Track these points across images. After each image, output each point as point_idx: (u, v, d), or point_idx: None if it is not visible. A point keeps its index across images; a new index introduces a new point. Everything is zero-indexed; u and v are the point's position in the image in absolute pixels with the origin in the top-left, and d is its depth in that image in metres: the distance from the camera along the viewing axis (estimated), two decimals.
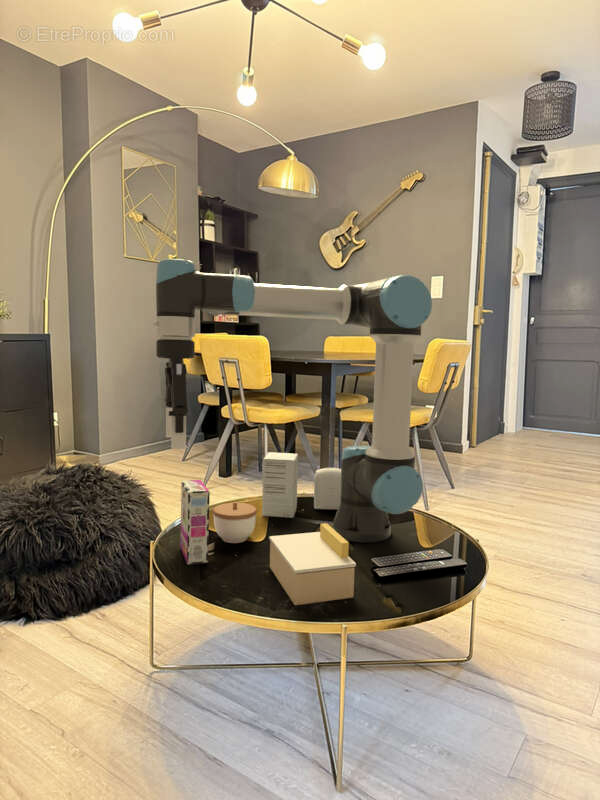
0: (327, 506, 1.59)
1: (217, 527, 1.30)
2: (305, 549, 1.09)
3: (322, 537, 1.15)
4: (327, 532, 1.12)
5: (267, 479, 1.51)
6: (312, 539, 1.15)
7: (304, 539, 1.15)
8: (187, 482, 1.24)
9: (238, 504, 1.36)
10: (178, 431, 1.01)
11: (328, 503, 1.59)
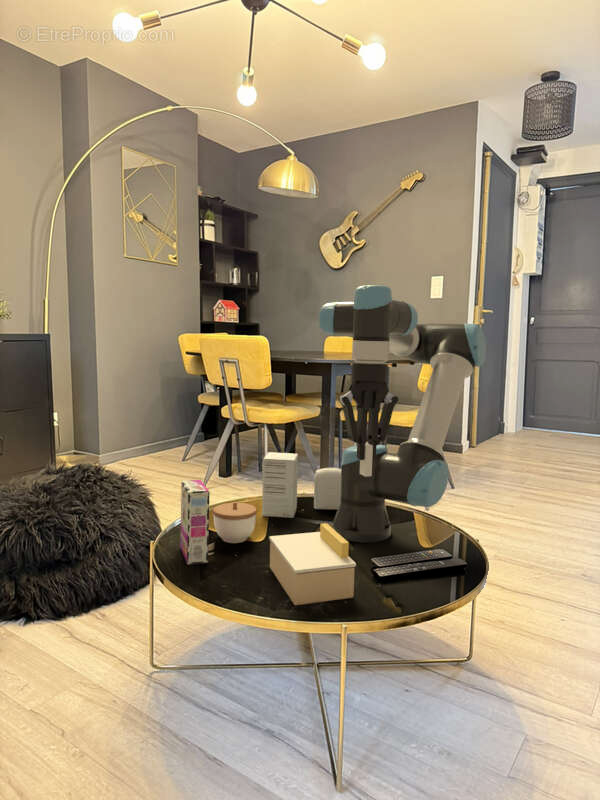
0: (327, 506, 1.59)
1: (217, 527, 1.30)
2: (305, 549, 1.09)
3: (322, 537, 1.15)
4: (327, 532, 1.12)
5: (267, 479, 1.51)
6: (312, 539, 1.15)
7: (304, 539, 1.15)
8: (187, 482, 1.24)
9: (238, 504, 1.36)
10: (358, 457, 1.11)
11: (328, 503, 1.59)
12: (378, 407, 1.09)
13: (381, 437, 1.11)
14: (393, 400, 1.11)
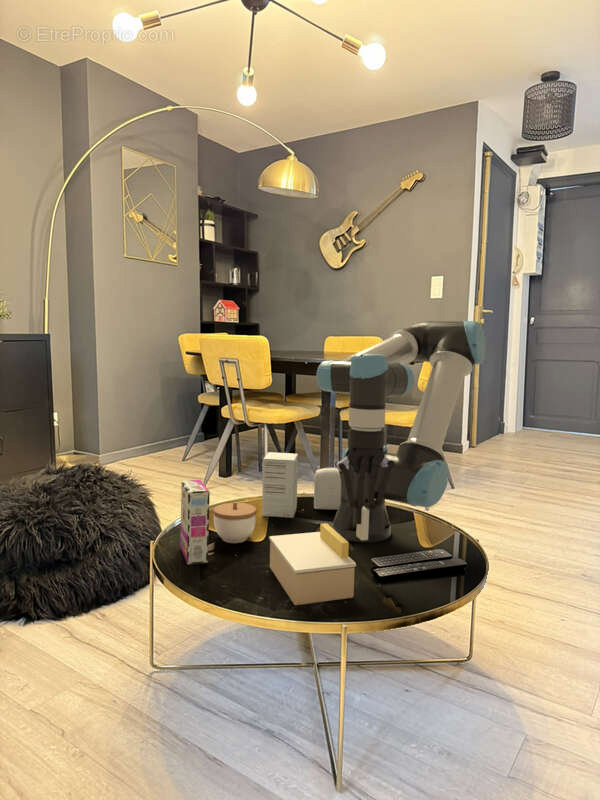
0: (327, 506, 1.59)
1: (217, 527, 1.30)
2: (305, 549, 1.09)
3: (322, 537, 1.15)
4: (327, 532, 1.12)
5: (267, 479, 1.51)
6: (312, 539, 1.15)
7: (304, 539, 1.15)
8: (187, 482, 1.24)
9: (238, 504, 1.36)
10: (354, 521, 1.12)
11: (328, 503, 1.59)
12: (374, 472, 1.11)
13: (377, 501, 1.12)
14: (389, 465, 1.12)
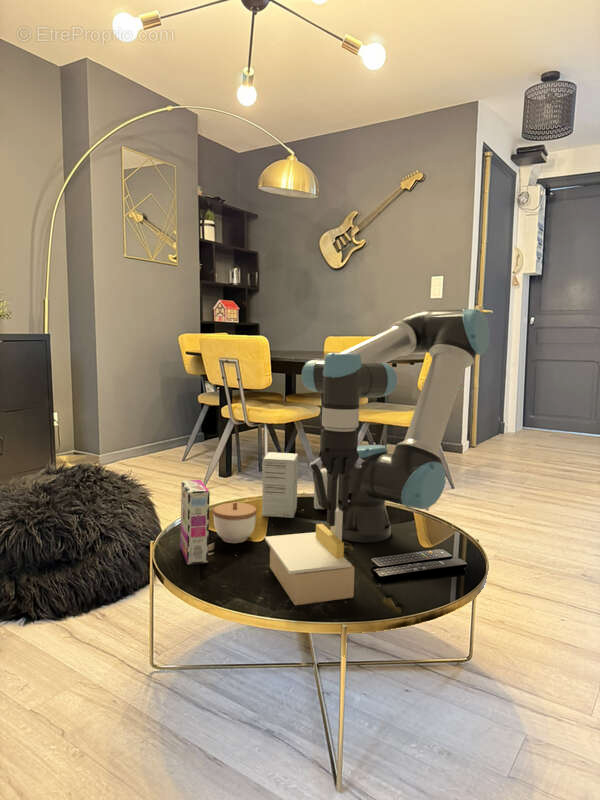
0: None
1: (217, 527, 1.30)
2: (300, 549, 1.09)
3: (317, 537, 1.15)
4: (322, 532, 1.12)
5: (267, 479, 1.51)
6: (307, 539, 1.15)
7: (299, 539, 1.15)
8: (187, 482, 1.24)
9: (238, 504, 1.36)
10: (328, 523, 1.10)
11: None
12: (348, 473, 1.09)
13: (351, 503, 1.10)
14: (363, 465, 1.10)
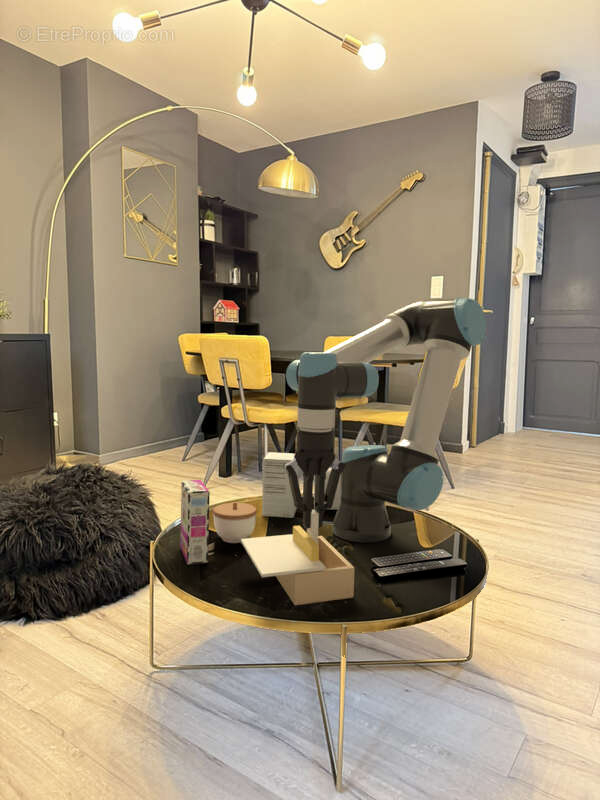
0: None
1: (217, 527, 1.30)
2: (275, 552, 1.07)
3: (294, 540, 1.13)
4: (299, 535, 1.10)
5: (267, 479, 1.51)
6: (284, 542, 1.13)
7: (276, 541, 1.13)
8: (187, 482, 1.24)
9: (238, 504, 1.36)
10: (304, 525, 1.09)
11: None
12: (324, 475, 1.07)
13: (327, 504, 1.09)
14: (340, 467, 1.09)
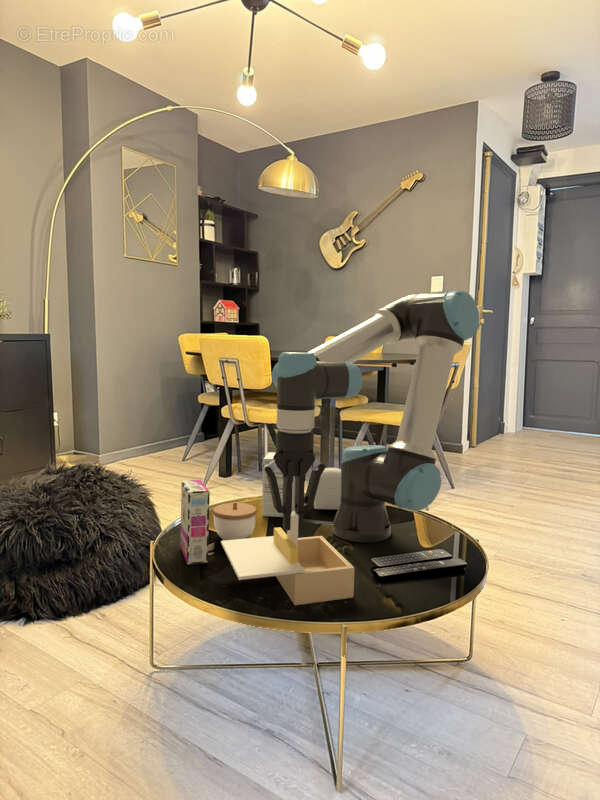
0: (327, 506, 1.59)
1: (217, 527, 1.30)
2: (255, 554, 1.06)
3: (275, 541, 1.12)
4: (279, 536, 1.09)
5: (267, 479, 1.51)
6: (265, 544, 1.12)
7: (256, 543, 1.12)
8: (187, 482, 1.24)
9: (238, 504, 1.36)
10: (283, 527, 1.08)
11: (328, 503, 1.59)
12: (303, 476, 1.06)
13: (307, 506, 1.07)
14: (320, 468, 1.07)
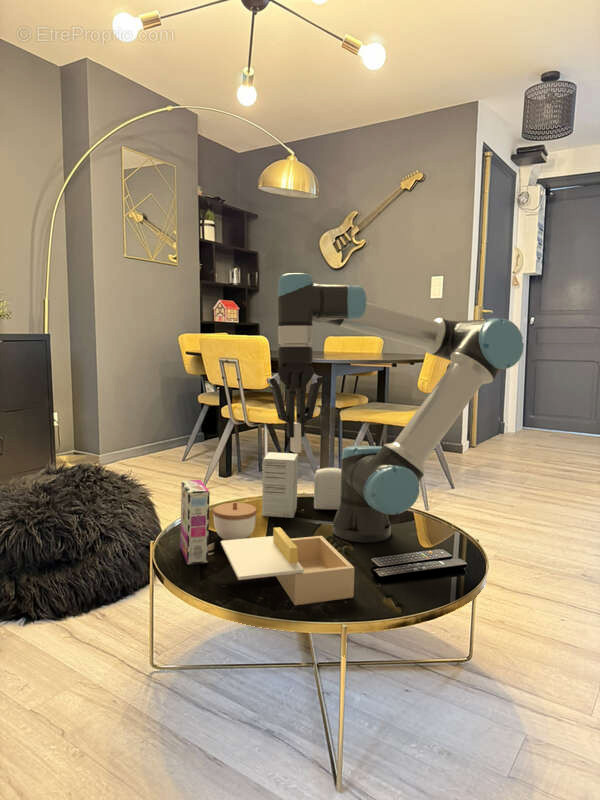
0: (327, 506, 1.59)
1: (217, 527, 1.30)
2: (254, 554, 1.06)
3: (275, 541, 1.12)
4: (279, 536, 1.09)
5: (267, 479, 1.51)
6: (264, 544, 1.12)
7: (256, 543, 1.12)
8: (187, 482, 1.24)
9: (238, 504, 1.36)
10: (287, 435, 1.19)
11: (328, 503, 1.59)
12: (304, 387, 1.17)
13: (308, 415, 1.19)
14: (318, 380, 1.19)
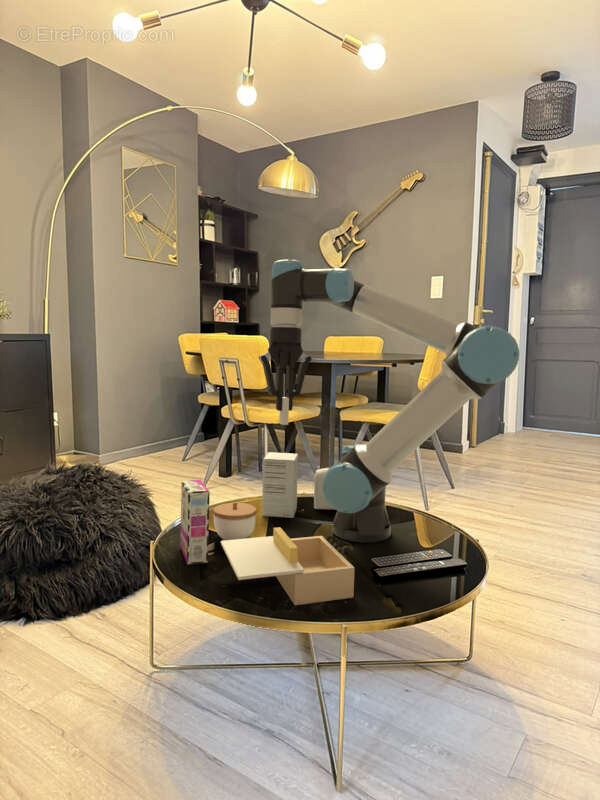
0: (327, 506, 1.59)
1: (217, 527, 1.30)
2: (254, 554, 1.06)
3: (275, 541, 1.12)
4: (279, 536, 1.09)
5: (267, 479, 1.51)
6: (264, 544, 1.12)
7: (256, 543, 1.12)
8: (187, 482, 1.24)
9: (238, 504, 1.36)
10: (276, 409, 1.30)
11: (328, 503, 1.59)
12: (293, 365, 1.28)
13: (296, 391, 1.29)
14: (307, 359, 1.29)
